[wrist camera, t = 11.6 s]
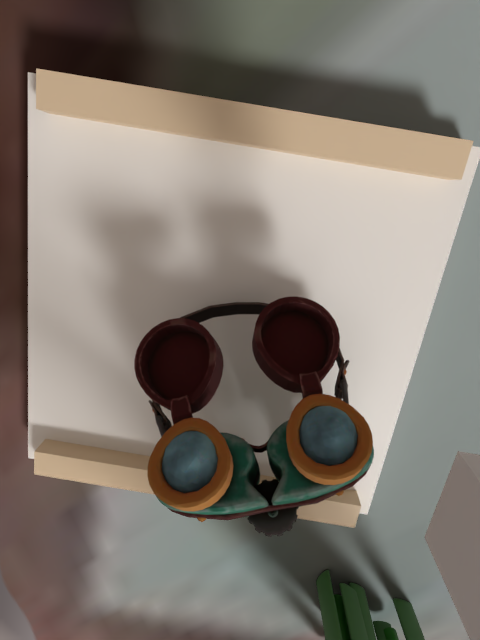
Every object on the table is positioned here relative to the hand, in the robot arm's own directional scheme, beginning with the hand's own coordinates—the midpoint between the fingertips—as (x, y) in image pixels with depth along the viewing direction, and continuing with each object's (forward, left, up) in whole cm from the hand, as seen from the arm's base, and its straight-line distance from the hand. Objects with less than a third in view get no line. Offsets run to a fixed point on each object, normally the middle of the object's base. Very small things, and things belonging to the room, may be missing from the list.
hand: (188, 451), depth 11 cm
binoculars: (0, +1, -11) cm, 12 cm away
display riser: (0, 0, -13) cm, 13 cm away
